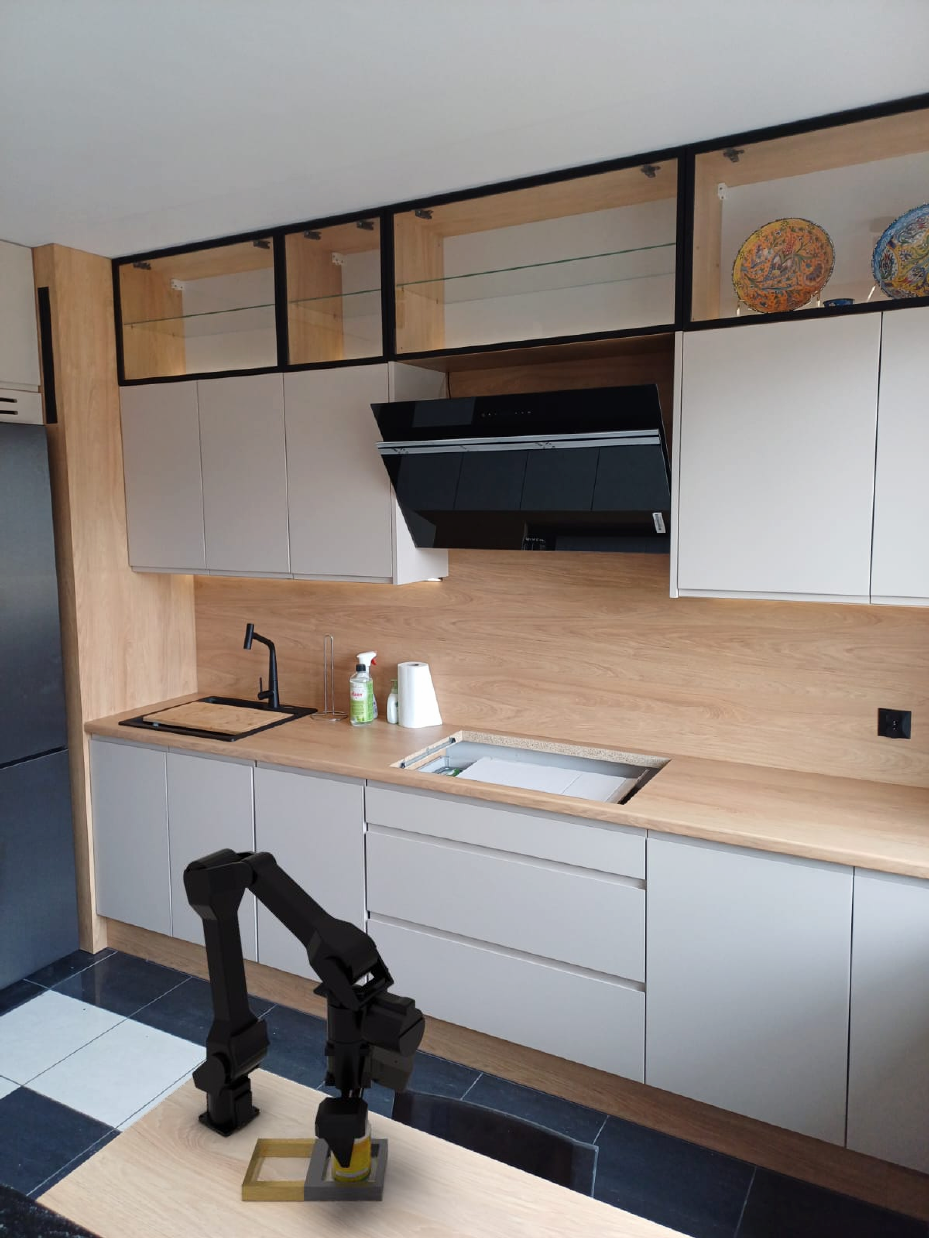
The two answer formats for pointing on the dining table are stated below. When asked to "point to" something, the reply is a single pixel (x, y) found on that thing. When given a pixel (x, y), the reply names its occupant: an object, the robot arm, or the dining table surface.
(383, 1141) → the rectangular frame
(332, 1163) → the supplement bottle
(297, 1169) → the dining table surface
